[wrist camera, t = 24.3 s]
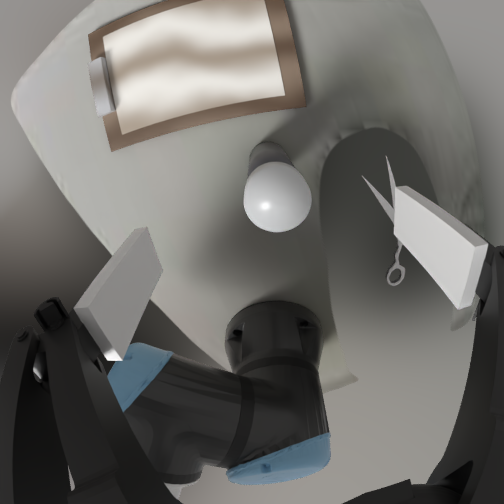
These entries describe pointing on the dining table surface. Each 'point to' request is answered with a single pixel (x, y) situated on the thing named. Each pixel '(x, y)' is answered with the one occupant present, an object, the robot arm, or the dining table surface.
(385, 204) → the scissors
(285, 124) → the dining table surface
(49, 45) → the dining table surface
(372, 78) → the dining table surface
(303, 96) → the clipboard
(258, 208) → the marker
